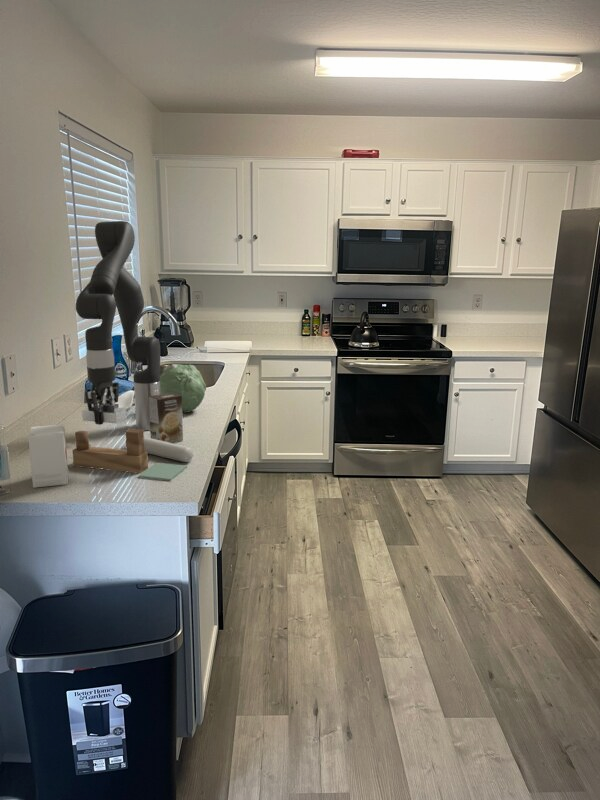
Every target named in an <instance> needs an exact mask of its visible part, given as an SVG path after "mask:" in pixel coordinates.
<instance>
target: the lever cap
mask: <svg viewBox="0 0 600 800" xmlns="http://www.w3.org/2000/svg"><path fill="white" fill-rule="evenodd" d="M92 407H93V405H92ZM98 408H99V404H98ZM81 414H82V421H83V422H85V421H86V422H94V423H95V417H94V412H93V411H89V410H88V407H87V408H85V409H82V410H81ZM102 414H103V423H107V424H108V423H109V424H119V423H121V422H122V421H124V420H126V419H127V418H128V416H127V414H128V412H127V413H126V408H119V405H118V404H110V403H105V404H103V408H102Z"/></svg>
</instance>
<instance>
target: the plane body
mask: <svg viewBox="0 0 600 800" xmlns="http://www.w3.org/2000/svg"><path fill="white" fill-rule="evenodd" d="M144 432H145V431H144V430H140V429H137V428H129V429H128V430H126V431H125V446H126V445H127V448H126V449H119V448H113V447H112V448H111V447H109V448H108V447H99V446H92V445H90V439H89V431H88V430H78V431H75V432H74V437H75V446H76V447H75V448H74V449H72V461H73V462H72V464H73V467H78V466H82V467H81V468H87V467H93V468H92V469H96V468H103V469H102V470H106V469H109V470H108V471H115V470H116V472H125V471H128V472H127V473H134V472H136V474H137V473H138V474H141V473H143V472H144V471H145V470H147V469H148V468H149V458H148V457H149V456H148V454H149V453H147V452H145V450H144V437H145V436H144V435H145V434H144Z"/></svg>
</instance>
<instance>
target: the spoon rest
mask: <svg viewBox="0 0 600 800" xmlns="http://www.w3.org/2000/svg"><path fill="white" fill-rule="evenodd" d="M134 398H135V394H134V390H128V391H127V390H126V391H125V392H124V393H122V394H119V395H118V402H116V403H115V404H118V405H119V408H126V413H127V414H128V412H129V411H130V410H131V408H132V406H133V401H134Z"/></svg>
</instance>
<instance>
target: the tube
mask: <svg viewBox="0 0 600 800" xmlns="http://www.w3.org/2000/svg"><path fill="white" fill-rule="evenodd" d="M125 448H126V449H127V445H126V444H125ZM144 450H145V452H147V454H149V455H153V456H158V457H161V458H164V459H169V460H173V461H177V462H181V461H182V463H189V462H190V461H192V459H193V457H194V452H193V449H192V448H190V447H189V446H184V445H182V444H181V445H180V444H176V443H169V442H164V441H160V440H156V439H151V437H147V436H144Z"/></svg>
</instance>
